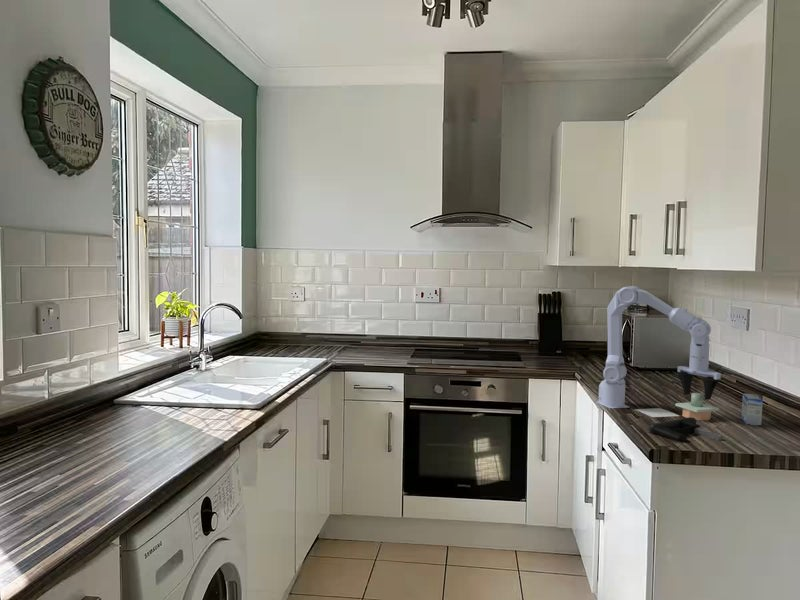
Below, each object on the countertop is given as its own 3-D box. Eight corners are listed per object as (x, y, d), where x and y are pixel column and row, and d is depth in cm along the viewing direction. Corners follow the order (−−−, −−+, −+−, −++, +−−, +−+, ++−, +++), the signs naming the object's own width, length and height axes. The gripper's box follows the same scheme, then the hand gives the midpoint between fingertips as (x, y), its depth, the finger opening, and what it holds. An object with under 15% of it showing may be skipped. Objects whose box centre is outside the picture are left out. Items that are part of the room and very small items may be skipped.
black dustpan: (734, 430, 172) (686, 414, 186) (692, 439, 162) (644, 422, 176) (733, 441, 172) (685, 424, 186) (691, 450, 163) (643, 432, 177)
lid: (675, 405, 196) (676, 391, 195) (696, 403, 198) (697, 390, 198) (697, 412, 187) (697, 397, 187) (718, 410, 190) (719, 396, 189)
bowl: (677, 415, 196) (678, 405, 196) (698, 414, 198) (698, 404, 197) (694, 422, 188) (694, 411, 188) (715, 421, 190) (716, 410, 189)
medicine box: (741, 418, 193) (742, 393, 193) (756, 420, 192) (757, 394, 191) (745, 424, 186) (747, 398, 186) (761, 426, 184) (763, 399, 184)
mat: (634, 410, 202) (634, 409, 202) (660, 409, 204) (660, 408, 204) (652, 418, 192) (652, 417, 192) (680, 417, 194) (680, 415, 194)
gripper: (672, 354, 196) (670, 393, 197) (711, 361, 183) (709, 402, 184) (686, 353, 199) (684, 391, 200) (725, 359, 186) (723, 400, 187)
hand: (697, 396), depth 192 cm, fingers open, 7 cm apart
